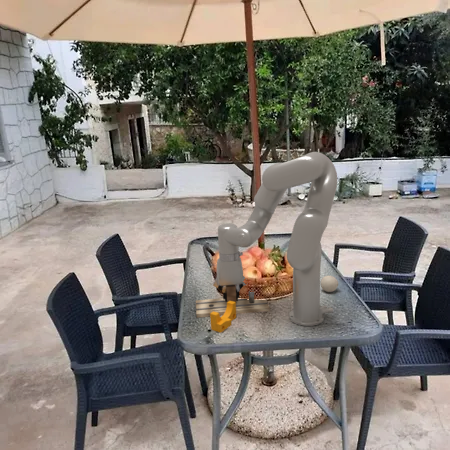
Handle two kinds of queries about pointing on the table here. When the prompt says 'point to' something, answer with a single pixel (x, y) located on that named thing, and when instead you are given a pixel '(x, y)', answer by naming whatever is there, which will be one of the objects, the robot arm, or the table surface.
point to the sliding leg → (231, 293)
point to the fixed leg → (251, 297)
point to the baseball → (329, 283)
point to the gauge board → (220, 306)
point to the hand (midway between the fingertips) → (231, 299)
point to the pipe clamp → (223, 318)
